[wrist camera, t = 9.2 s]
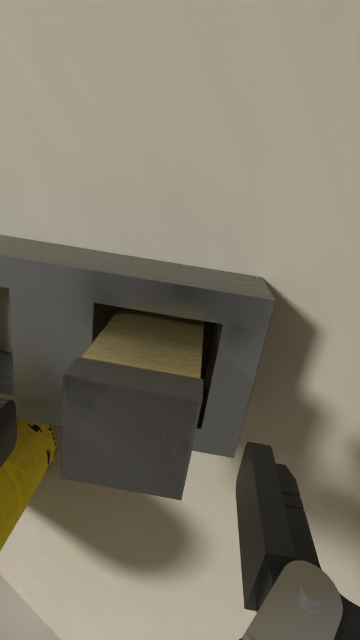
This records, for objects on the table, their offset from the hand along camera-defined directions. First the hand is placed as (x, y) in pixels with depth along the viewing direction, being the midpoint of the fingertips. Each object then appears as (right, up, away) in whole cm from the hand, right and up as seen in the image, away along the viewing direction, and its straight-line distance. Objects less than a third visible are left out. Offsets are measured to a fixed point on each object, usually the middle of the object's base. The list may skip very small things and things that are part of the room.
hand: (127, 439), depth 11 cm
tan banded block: (+1, +3, +9) cm, 9 cm away
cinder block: (-4, +4, +9) cm, 10 cm away
